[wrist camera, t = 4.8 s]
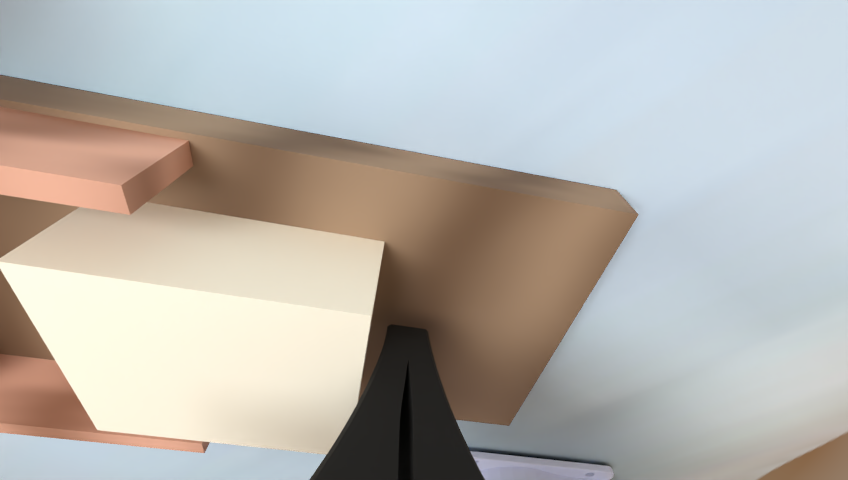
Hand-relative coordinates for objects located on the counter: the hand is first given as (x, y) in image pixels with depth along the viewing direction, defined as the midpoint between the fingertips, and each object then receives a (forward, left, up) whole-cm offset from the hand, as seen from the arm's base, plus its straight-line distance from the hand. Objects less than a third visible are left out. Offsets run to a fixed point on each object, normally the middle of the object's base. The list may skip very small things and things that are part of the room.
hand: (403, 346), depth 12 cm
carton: (+5, 0, -1) cm, 5 cm away
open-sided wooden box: (+5, 0, -2) cm, 6 cm away
